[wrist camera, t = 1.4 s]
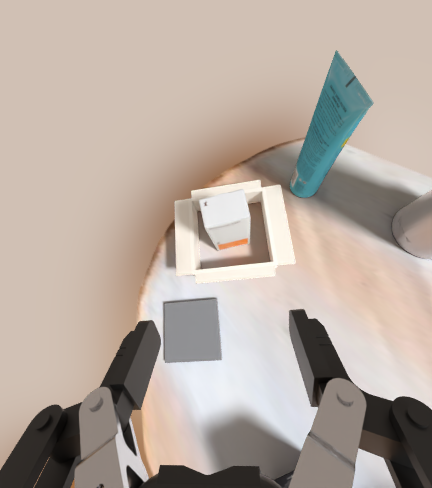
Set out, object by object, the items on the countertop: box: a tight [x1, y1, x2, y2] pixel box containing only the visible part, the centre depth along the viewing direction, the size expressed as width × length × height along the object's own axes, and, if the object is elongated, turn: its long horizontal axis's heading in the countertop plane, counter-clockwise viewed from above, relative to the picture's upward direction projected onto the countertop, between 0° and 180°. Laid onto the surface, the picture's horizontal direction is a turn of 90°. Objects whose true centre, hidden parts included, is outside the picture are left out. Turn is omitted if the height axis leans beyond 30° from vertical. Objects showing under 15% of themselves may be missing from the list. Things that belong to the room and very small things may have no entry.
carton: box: [174, 180, 296, 284], centre depth 35 cm, size 18×16×4 cm
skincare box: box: [199, 189, 251, 251], centre depth 32 cm, size 6×4×12 cm
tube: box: [290, 51, 373, 198], centre depth 29 cm, size 7×5×19 cm, turn 20°
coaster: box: [164, 299, 222, 363], centre depth 34 cm, size 9×9×1 cm
